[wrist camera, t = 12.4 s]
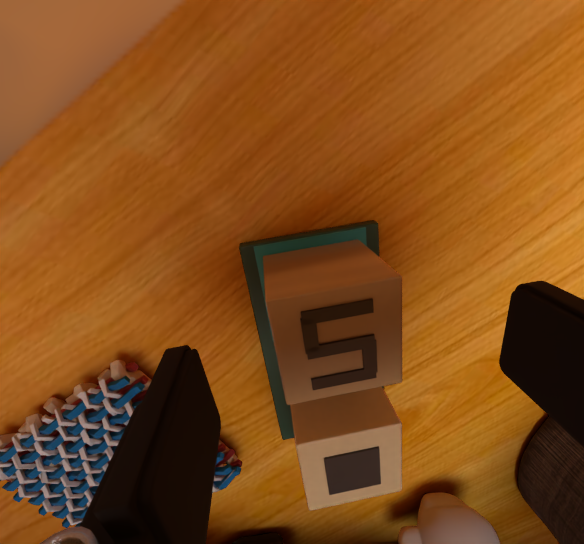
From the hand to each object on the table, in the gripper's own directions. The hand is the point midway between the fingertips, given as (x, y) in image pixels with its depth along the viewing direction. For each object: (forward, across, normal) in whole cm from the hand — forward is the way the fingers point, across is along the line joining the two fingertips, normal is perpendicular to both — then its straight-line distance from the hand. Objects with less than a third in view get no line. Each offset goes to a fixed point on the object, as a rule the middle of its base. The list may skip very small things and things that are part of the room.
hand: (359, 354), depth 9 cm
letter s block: (+6, 0, +1) cm, 6 cm away
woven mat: (+6, +13, +9) cm, 17 cm away
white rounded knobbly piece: (+3, -6, +19) cm, 20 cm away
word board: (+6, 0, +4) cm, 8 cm away
